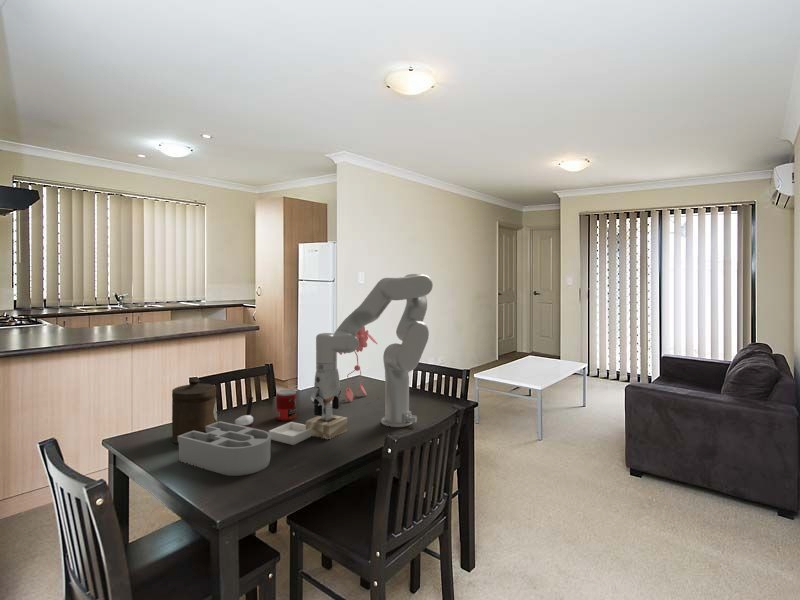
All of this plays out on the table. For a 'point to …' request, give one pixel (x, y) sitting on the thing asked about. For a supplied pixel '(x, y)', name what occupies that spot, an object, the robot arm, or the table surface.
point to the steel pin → (327, 410)
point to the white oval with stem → (246, 416)
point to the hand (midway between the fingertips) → (326, 411)
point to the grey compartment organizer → (226, 449)
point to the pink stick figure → (362, 338)
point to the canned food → (286, 405)
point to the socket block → (328, 426)
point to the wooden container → (193, 408)
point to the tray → (291, 433)
